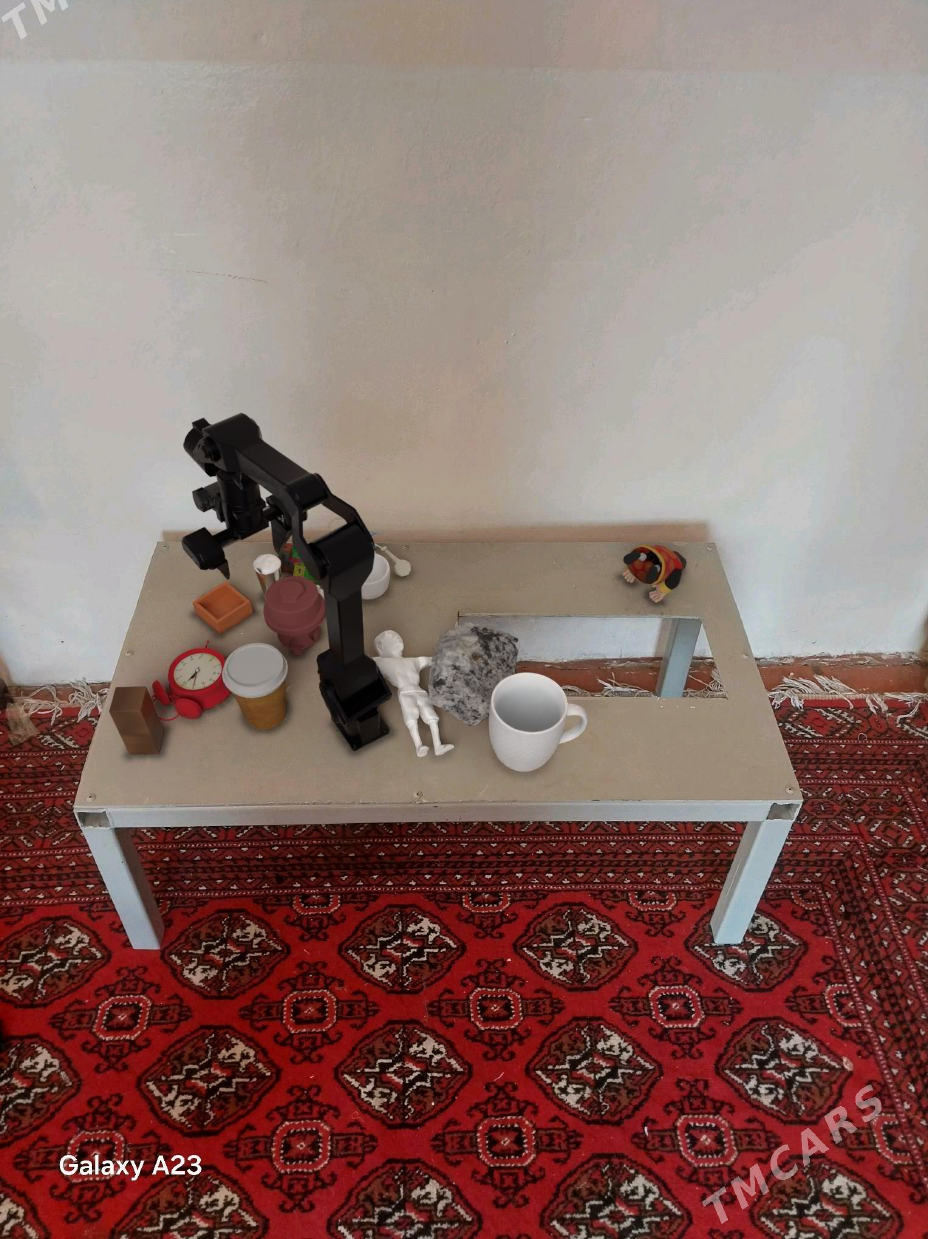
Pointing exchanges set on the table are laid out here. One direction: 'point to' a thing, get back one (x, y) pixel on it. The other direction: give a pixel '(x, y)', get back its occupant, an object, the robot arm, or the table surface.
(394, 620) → the table surface
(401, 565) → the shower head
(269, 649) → the disposable coffee cup
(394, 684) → the figurine
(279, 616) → the mechanical component
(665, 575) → the figurine
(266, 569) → the milkshake
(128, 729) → the brown rectangular block
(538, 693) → the mug
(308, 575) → the numbered block arch
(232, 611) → the socket pad
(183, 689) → the alarm clock
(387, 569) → the teacup
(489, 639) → the rock
